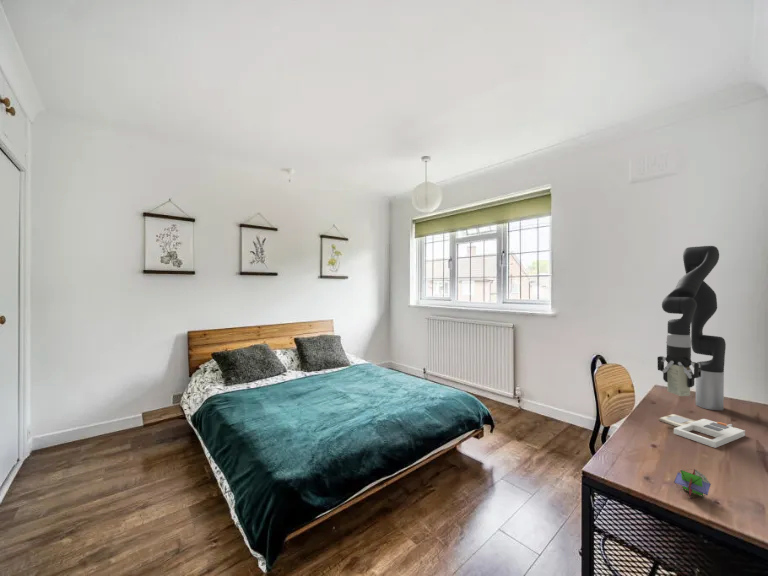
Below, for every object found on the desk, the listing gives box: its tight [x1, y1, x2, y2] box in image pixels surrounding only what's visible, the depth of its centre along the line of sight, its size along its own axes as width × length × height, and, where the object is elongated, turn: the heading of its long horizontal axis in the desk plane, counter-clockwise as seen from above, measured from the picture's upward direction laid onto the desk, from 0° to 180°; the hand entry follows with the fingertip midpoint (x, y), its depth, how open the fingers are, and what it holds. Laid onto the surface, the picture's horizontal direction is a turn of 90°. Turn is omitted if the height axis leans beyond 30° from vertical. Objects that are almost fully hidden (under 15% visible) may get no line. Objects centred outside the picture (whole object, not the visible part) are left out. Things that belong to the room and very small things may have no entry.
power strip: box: [673, 418, 746, 449], centre depth 125 cm, size 28×12×3 cm, turn 114°
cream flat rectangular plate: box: [658, 413, 697, 427], centre depth 135 cm, size 11×8×1 cm
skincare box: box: [666, 362, 691, 397], centre depth 135 cm, size 6×4×12 cm
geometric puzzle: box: [673, 468, 712, 499], centre depth 89 cm, size 7×7×8 cm
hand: (678, 384), depth 135 cm, fingers closed on skincare box, 7 cm apart
